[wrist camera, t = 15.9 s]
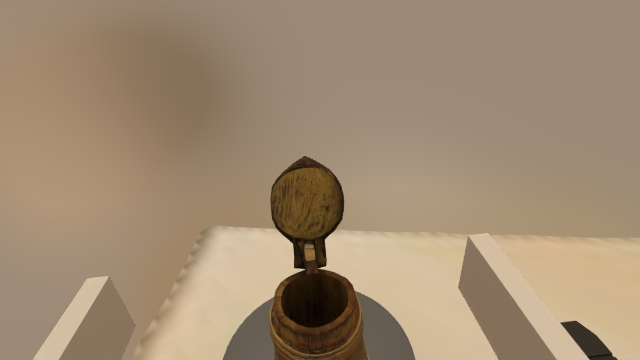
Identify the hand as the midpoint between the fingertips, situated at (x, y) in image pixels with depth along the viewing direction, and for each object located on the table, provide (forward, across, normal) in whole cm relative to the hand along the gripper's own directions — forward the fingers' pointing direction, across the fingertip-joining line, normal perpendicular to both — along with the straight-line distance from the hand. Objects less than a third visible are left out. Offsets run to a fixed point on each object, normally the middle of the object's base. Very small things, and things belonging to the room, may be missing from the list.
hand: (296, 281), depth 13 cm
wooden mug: (+10, 0, -21) cm, 23 cm away
